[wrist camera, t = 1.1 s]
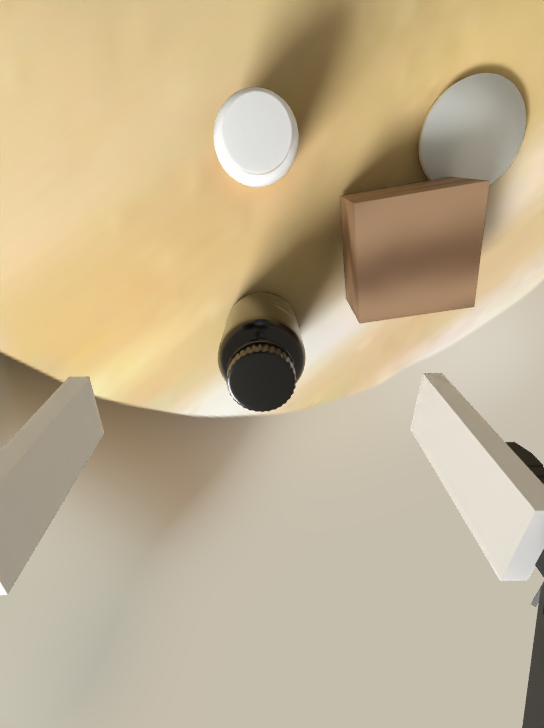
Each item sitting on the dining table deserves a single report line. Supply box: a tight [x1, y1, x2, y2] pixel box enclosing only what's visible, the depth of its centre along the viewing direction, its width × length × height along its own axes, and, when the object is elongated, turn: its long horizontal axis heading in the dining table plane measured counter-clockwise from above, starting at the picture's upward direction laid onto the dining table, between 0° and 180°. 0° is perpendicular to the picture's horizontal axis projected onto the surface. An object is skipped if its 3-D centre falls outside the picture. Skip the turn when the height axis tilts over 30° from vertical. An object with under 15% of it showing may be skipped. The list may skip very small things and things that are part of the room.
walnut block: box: [340, 177, 490, 323], centre depth 29 cm, size 9×9×6 cm
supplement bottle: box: [218, 292, 305, 412], centre depth 30 cm, size 7×7×12 cm
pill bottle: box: [214, 87, 299, 187], centre depth 24 cm, size 6×5×10 cm
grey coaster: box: [418, 73, 526, 185], centre depth 29 cm, size 8×8×1 cm
